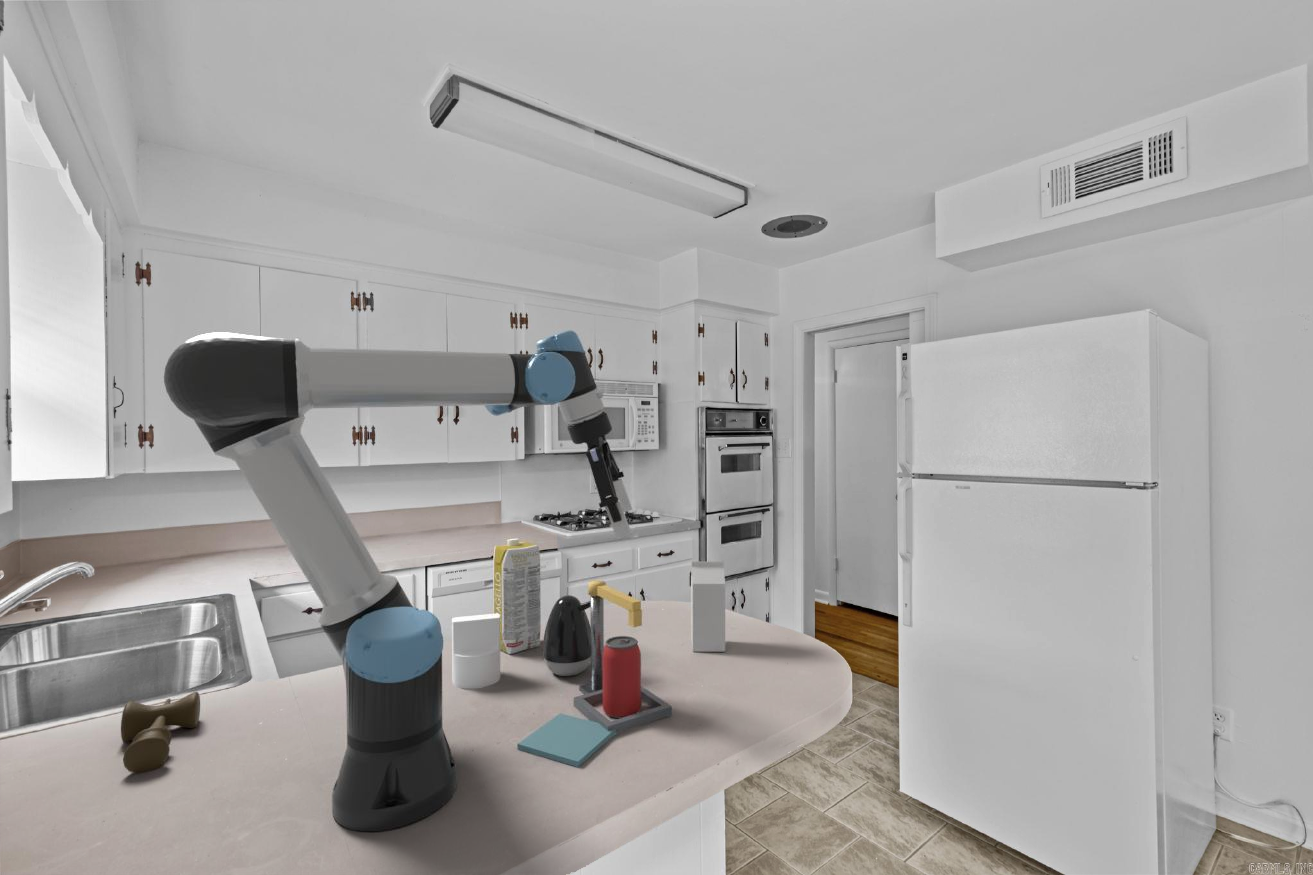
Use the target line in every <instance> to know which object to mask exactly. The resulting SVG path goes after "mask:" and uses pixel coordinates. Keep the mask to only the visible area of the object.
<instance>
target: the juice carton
mask: <svg viewBox="0 0 1313 875" xmlns="http://www.w3.org/2000/svg"><path fill="white" fill-rule="evenodd" d="M493 550H494V551H493V562H492V568H493V570H492V578H493V579H492V586H493V588H492V590H493V592H492V594H493V595H492V597H493V598H492V599H493V601H492V603H493V604H492V606H493V607H492V608H493V610H492V611H493V613H492V614H496V613H498V614H499V615H500V651H501V652H502V651H503V652H504V653H506V654H508V655H513V654H516V653H519V652H522V651H526V650H530V649H534V648H537V647H539V646H540V643H541V642H540V641H541V621H542V620H541V618H542V617H541V616H542V614H541V613H542V612H541V554H540V546H539V545H538V544H535V543H532V542H528V541H522V542H521V541H520V539H519V538H510V539H507V544H501V545H495V546H494V549H493Z"/></svg>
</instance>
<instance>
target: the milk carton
mask: <svg viewBox="0 0 1313 875" xmlns="http://www.w3.org/2000/svg"><path fill="white" fill-rule="evenodd" d="M724 566H725V564H724V561H691V569H690V570H691V572H690V628H691V629H690V633H691V634H690V638H691V639H690V640H691V642H690V643H691V649H692V652H695V653H696V652H706V653H709V652H710V653H711V652H712V653H714V652H720V653H721V652H723V653H724V652H726V578H725V576H726V575H725V567H724Z"/></svg>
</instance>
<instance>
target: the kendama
mask: <svg viewBox="0 0 1313 875" xmlns="http://www.w3.org/2000/svg"><path fill="white" fill-rule="evenodd" d="M171 701H172V700H171V698H167V699H165V702H164V703H163V704H160V705H159V704H158V705H148V704H144V703H140V702H136V701H134V700H129V701H128V702H127V703H125V704H124V708H123V709H122V710H123V712H122V714H121V720H120V737H121V741H122V742H123V743H128V742H131V741H132V742H131V744H129V745H128V747H127V748H126V749H125V750H124V754H123V758H122V761H123V762H122V763H123V766H124V768H125V769H126V770H127V771H128V772H130V773H134V774H140V773H146V772H149V771H153V770H156V769H158V768H160V767H161V766H163V765H164V764H165V762H166V761H167V759H168V758H169V754H170V750H171V748H170V745H171V742H172V739H173V738H172V733H171V731H170V730H169V729H168V728H167V726H168V727H169V726H177V727H181V728H186V729H195V728H196V727H197V726H198V724H199V720H200V716H201V715H200V714H201V695H200V693H199V692H198V691H194V692H191V693H190V694H188V695H187V694H186V696H184V697H182V698H180V699H178V700H176V701H173V702H171Z"/></svg>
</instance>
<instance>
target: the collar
mask: <svg viewBox="0 0 1313 875" xmlns="http://www.w3.org/2000/svg"><path fill="white" fill-rule="evenodd" d="M641 701H642V702H644V703H645V704H647V705H648V706H650V707H651V708H649V709H646V710H643V711H639V712H638V713H636V714H633V715H630V716H627V717H623V718H616V719H614V720H609V718H608V717H606V716H605V715H604V714H602V713H601V712H600V711H599V710H598V709H596V707H594V706H593V705H594V704H598V703H601V702H603V690H599V691H595V692H592V693H588V694H584V693H583V694H580V695H578V696H574V697H573V707H574V708H575V709H577V711H578V712H580V713H581V714H582V715H583V716H584V717H585V718H587V720H589V721H593V722H597V723H599V724H600V725H601V726H603V727H604V728H605V729H606V730H607V731H609V730H612V729H615V728H616V734H617V733H621V732H624V731H627V730H630V729H634V728H636V727H639V726H642V725H646V724H649V723H651V722H655V721H658V720H661V719H664V718H668V717H671V716H672V715H673V706H672V705H670V704H669V703H668V702H666V701H664V700H663V699H662V698H661V697H658V696H657V695H655V694H654V693H653V692H652V691H650V690H648V689H646V688H645V687H644V686H642V685H641Z"/></svg>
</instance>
